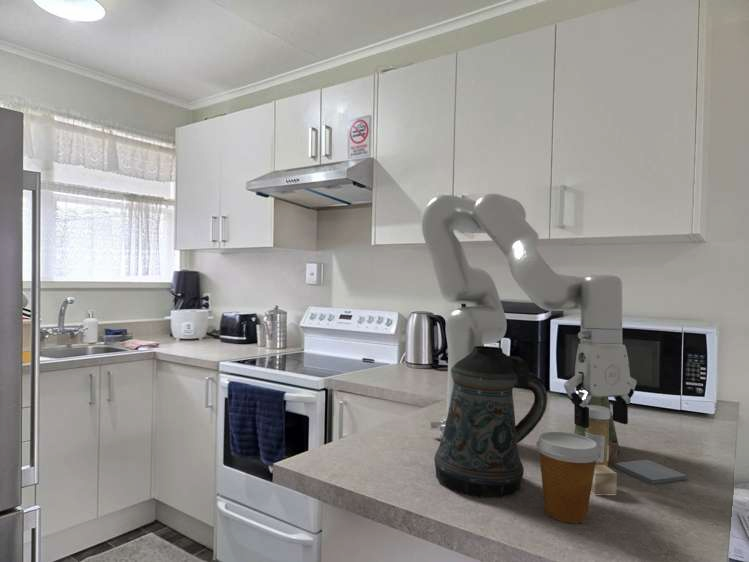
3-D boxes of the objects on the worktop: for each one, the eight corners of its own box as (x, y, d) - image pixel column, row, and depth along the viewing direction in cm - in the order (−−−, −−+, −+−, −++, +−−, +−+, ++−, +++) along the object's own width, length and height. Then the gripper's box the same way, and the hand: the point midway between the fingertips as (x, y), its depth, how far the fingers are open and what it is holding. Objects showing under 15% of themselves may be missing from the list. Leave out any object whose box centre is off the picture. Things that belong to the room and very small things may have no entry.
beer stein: (418, 469, 95) (422, 342, 95) (497, 458, 103) (501, 341, 103) (466, 505, 80) (471, 354, 80) (555, 489, 87) (560, 352, 88)
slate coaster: (652, 484, 91) (652, 480, 91) (614, 467, 100) (614, 463, 100) (686, 479, 94) (686, 475, 94) (647, 463, 103) (647, 459, 103)
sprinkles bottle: (613, 477, 94) (615, 408, 95) (599, 481, 92) (602, 411, 92) (591, 469, 98) (593, 403, 98) (578, 473, 96) (580, 405, 96)
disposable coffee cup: (576, 535, 71) (578, 454, 71) (522, 509, 79) (524, 436, 79) (609, 518, 77) (611, 443, 77) (556, 496, 84) (558, 428, 84)
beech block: (594, 495, 86) (595, 473, 86) (583, 486, 89) (583, 464, 90) (616, 495, 86) (616, 473, 86) (603, 486, 90) (604, 465, 90)
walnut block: (608, 466, 101) (609, 447, 101) (589, 460, 104) (590, 441, 104) (616, 462, 103) (617, 443, 103) (598, 456, 106) (598, 438, 106)
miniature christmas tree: (591, 457, 105) (595, 343, 106) (556, 440, 117) (559, 337, 117) (632, 454, 108) (635, 343, 109) (594, 437, 120) (597, 337, 120)
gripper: (580, 339, 89) (580, 433, 88) (650, 338, 95) (650, 426, 94) (552, 336, 96) (552, 422, 95) (619, 335, 102) (619, 416, 101)
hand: (601, 424), depth 95 cm, fingers open, 9 cm apart
